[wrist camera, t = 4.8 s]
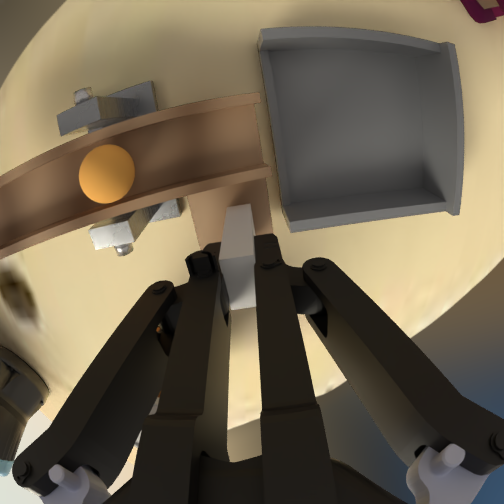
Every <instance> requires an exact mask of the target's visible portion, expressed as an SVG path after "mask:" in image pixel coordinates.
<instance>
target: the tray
mask: <svg viewBox="0 0 504 504" xmlns="http://www.w3.org/2000/svg"><path fill="white" fill-rule="evenodd" d="M257 47H258V52H259V58H260V63H261V69H262V75H263V80H264V86H265V92H266V99H267V105H268V111H269V118H270V124H271V131H272V138H273V144H274V151H275V159H276V166H277V173H278V181H279V189H280V197H281V205H282V213H283V215H284V218H285V220H286V223H287V225H288V228H289V230H290V233H293V232H300V231H307V230H313V229H320V228H327V227H334V226H341V225H348V224H355V223H362V222H369V221H376V220H383V219H390V218H398V217H405V216H412V215H420V214H427V213H435V212H443V211H446V212H448V213H449V214H451V215H452V216H455V215H459V213H460V205H461V196H462V185H463V170H464V114H463V100H462V89H461V81H460V73H459V66H458V60H457V55H456V49H455V44H452V43H449V42H444V43H436V42H432V41H428V40H424V39H420V38H415V37H410V36H405V35H400V34H395V33H388V32H382V31H374V30H366V29H356V28H343V27H279V28H266V29H261V30H260V34H259V38H258V42H257Z"/></svg>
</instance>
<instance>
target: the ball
mask: <svg viewBox="0 0 504 504" xmlns="http://www.w3.org/2000/svg"><path fill="white" fill-rule="evenodd" d="M134 178H135V166H134V162H133V160H132V158H131V156H130V154H129V153H128V152H127V151H126V150H125V149H123V148H121V147H119V146H116V145H111V144H107V145H102V146H99V147H96V148H95V149H93V150H92V151H90V152H89V153H88V154H87V155H86V157H85V158H84V160H83V162H82V164H81V166H80V170H79V182H80V186H81V188H82V190H83V192H84V193H85V194H86V196H87V197H89V198H90V199H91V200H93V201H95V202H98V203H112V202H115V201H117V200H119V199H121V198H122V197H123V196H125V195H126V194H127V192H128V191H129V190H130V188H131V186H132V184H133V181H134Z"/></svg>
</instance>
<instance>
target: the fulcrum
mask: <svg viewBox="0 0 504 504" xmlns="http://www.w3.org/2000/svg"><path fill="white" fill-rule="evenodd" d="M73 96H74V102H75V106H74V107H72V108H70V109H68V110H66V111H64V112H62V113H60V114H58V115H57V120H58V125H59V130H60V135H61V136H65V135H69V134H74V133H78V132H83V131H87V130H88V134H89V133H92V132H94V131H97V130H100V129H102V128H105V127H108V126H111V125H114V124H117V123H120V122H123V121H126V120H129V119H132V118H136V117H139V116H142V115H146V114H149V113H153V112H157V111H158V107H157V102H156V96H155V91H154V85H153V81H148V82H145V83H142V84H139V85H136V86H133V87H130V88H127V89H124V90H121V91H119V92H116V93H114V94H111V95H108V96H106V97H98V96H96V97H94V98H93V94H92V88H91V87H88V88H84V89H81V90H78V91H76V92H75V93H73ZM181 214H182V213H181V209H180V205H179V201H178V198H177V199H173V200H169V201H166V202H162V203H158V204H155V205H151V206H148V207H145V208H141V209H138V210H134V211H131V212H128V213H125V214H121V215H118V216H115V217H112V218H109V219H106V220H103V221H100V222H97V223H95V224H94V225H93V226H92V227H91V228H90V229H89V230H88V231H89V234H90V236H91V239H92V242H93V244H94V247H95V249H96V250H97V249H102V248H107V247H112V246H114V247H115V250H116V253H117V255H118V256H125V255H127V254H129V253H131V252H132V251H133V246H132V242H135V241H136V239H137V238H138V237H139V235H140V234H141V232H142V231H143V230H144V228H145V227H146V226H147V224H148V223H150V222H155V221H160V220H165V219H170V218H175V217H180V216H181Z"/></svg>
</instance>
